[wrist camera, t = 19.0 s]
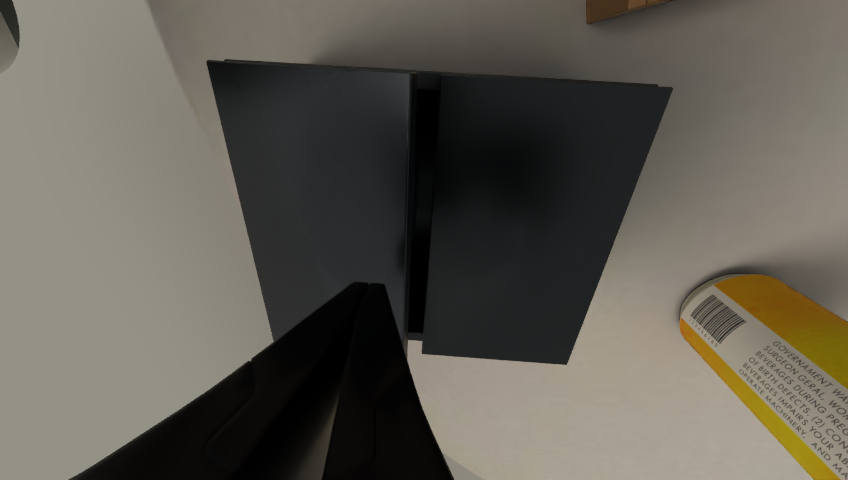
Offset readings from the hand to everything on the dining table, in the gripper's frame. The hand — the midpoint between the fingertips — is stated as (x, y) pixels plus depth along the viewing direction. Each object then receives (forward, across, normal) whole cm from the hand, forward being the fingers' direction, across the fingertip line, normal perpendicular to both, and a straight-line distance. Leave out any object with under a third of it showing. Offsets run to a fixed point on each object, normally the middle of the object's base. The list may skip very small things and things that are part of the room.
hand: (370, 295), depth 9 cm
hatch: (+2, +2, 0) cm, 3 cm away
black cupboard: (+10, -1, 0) cm, 10 cm away
